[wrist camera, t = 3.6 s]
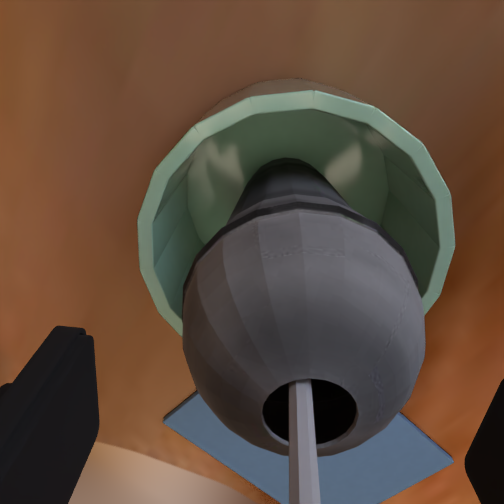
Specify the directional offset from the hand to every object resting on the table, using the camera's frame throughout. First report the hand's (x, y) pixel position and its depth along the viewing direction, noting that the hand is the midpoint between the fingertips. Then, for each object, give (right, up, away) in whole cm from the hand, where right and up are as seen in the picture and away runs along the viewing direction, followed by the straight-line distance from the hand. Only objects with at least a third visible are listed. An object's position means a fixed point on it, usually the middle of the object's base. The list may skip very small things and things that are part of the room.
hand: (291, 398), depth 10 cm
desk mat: (+3, -11, +22) cm, 25 cm away
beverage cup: (+1, +6, +14) cm, 15 cm away
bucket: (+1, +7, +14) cm, 15 cm away
